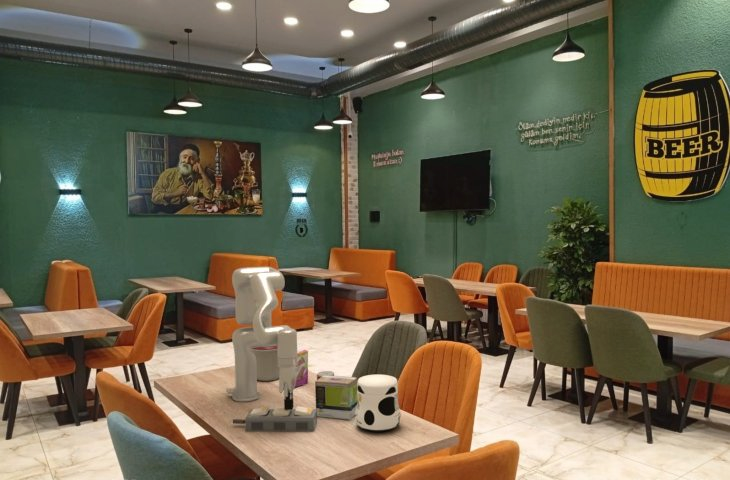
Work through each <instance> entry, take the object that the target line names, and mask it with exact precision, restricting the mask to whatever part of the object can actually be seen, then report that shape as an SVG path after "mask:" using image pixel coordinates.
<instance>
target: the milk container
mask: <svg viewBox="0 0 730 480" xmlns="http://www.w3.org/2000/svg"><path fill="white" fill-rule="evenodd" d="M357 397H358V401H357V407H356V411H355V415H354V416H355V422H356V424H357V426H358V427H360V429H362V430H365V431H368V432H387V431H390V430H394V429H395V428H396V427H398V426H399V424H400V421H401V409H400V404H399V385H398V379H397V378H396V377H394V376H393V375H388V374H368V375H363V376H361V377H359V378H357Z"/></svg>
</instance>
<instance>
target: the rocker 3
mask: <svg viewBox="0 0 730 480" xmlns="http://www.w3.org/2000/svg"><path fill="white" fill-rule="evenodd" d="M295 409H296V410H295V415H299V416H310V415H311V413H312V410H313V409H314V408H309V407H305V406H301V405H297V407H296V408H295Z"/></svg>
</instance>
